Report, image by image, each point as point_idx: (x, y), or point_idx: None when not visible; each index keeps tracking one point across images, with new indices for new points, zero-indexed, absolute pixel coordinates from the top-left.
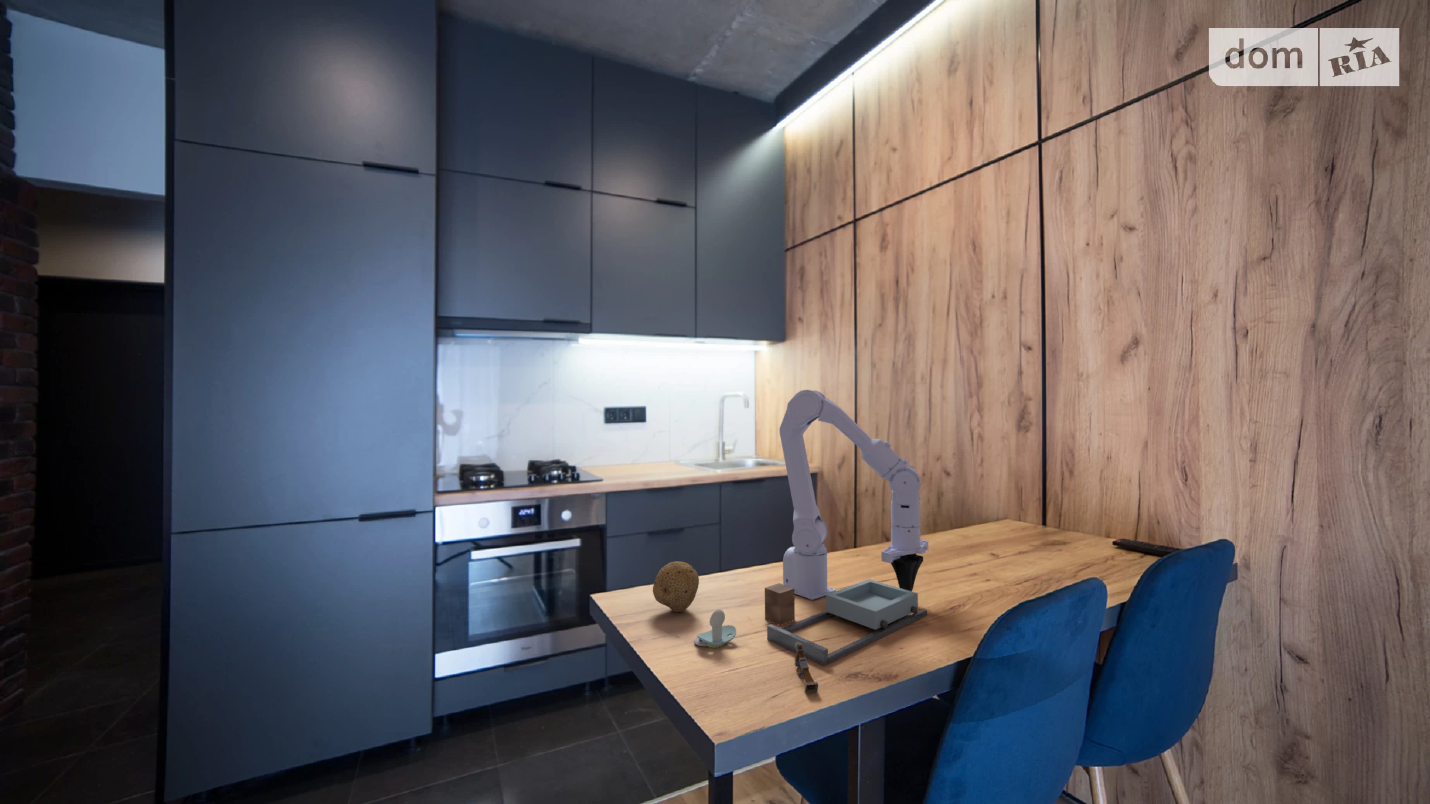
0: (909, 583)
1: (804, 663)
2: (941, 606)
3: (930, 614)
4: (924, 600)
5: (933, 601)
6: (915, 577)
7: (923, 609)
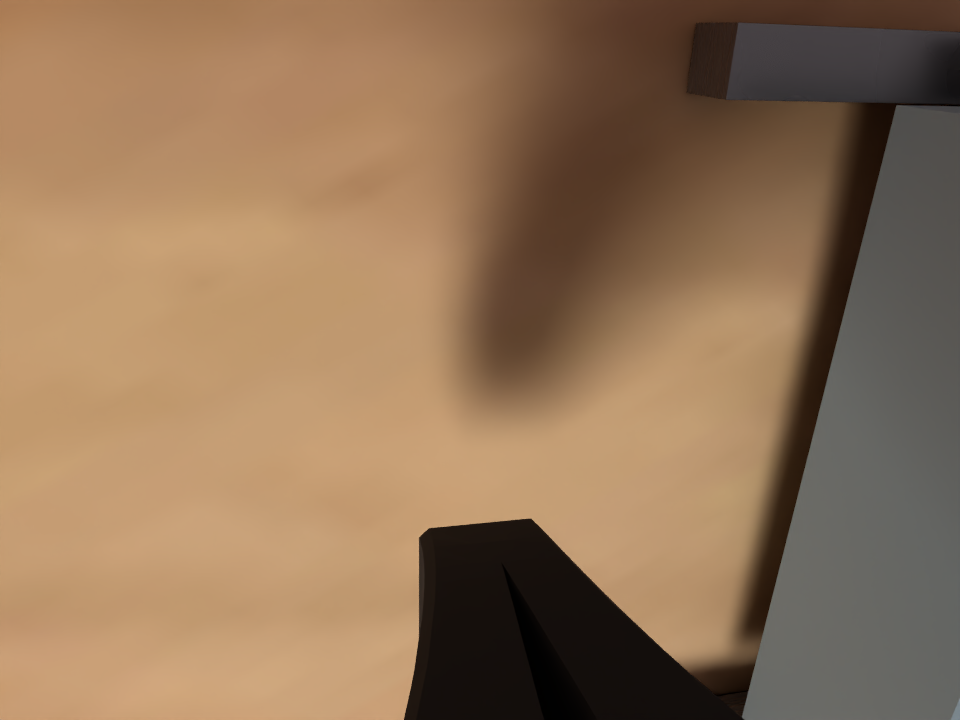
0: (626, 617)
1: None
2: (140, 51)
3: (627, 4)
4: (147, 382)
5: (49, 272)
6: (435, 709)
7: (755, 81)
